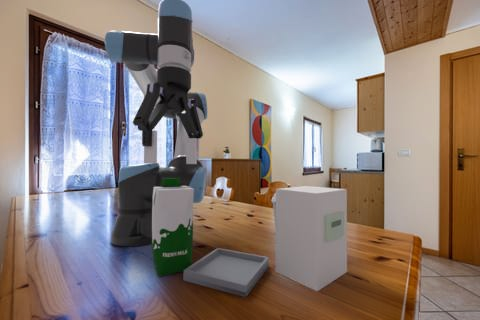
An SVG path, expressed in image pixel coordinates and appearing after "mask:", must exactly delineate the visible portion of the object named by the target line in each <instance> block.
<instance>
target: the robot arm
mask: <svg viewBox="0 0 480 320" xmlns="http://www.w3.org/2000/svg"><path fill="white" fill-rule="evenodd" d="M156 16H157V17H156V18H157V33H146V32H145V33H144V32H135V31H125V30H109V31H107V32H106V34H105V35H104V49H105V51H106V55H107V57H108V59H109V60H111V61H112V62H114V63H119V64H122V63H123V64H124V65H125V66H126V68H127V70H128V72H129V73H130V75H131V76H132V78H133V80H134V81H135V83H136V85H137V86H138V89H139V90H140V91H141V92H142V95H143V100H142V102H141V104H140V106H139V108H138V110H137V112H136V114H135V116H134V118H133V120H132V124H133V125H134V126H135V127H137V130H138V131H141V132H142V133H141V145H142V147H143V163H142V164H133V165H132V164H131V165H126V166H122V167H121V168H120V169H119V172H118V181H117V184H118V185H117V187H118V188H117V190H118V192H117V217H116V220H115V222H114V226H113V230H112V232H111V234H110V243H111V244H112V245H114V246H117V247H137V246H139V247H140V246H145V245H149V244H152V206H153V189H154V187H159V186H162V181H163V178H180V186H188V187H191V188H193V189H194V195H193V204H200V203H201V202H202V201H203V200H204V198H205V195H206V193H205V192H206V187H207V178H208V170H207V168H206V167H204V165H203V163H202V162H201V161H200V160H199V159H200V139H202V137H204V132H203V128H202V123H203V122H204V121H205V120H207V118H208V103H207V101H208V100H207V97H206V95H205V93H202V92H196V91H195V92H190V91H191V89H192V67H193V65H194V63H195V50H194V49H195V48H194V39H193V18H192V16H193V15H192V8H191V7H190V6H189V4H188V3H186V1H184V0H161V1H160V3H159V4H158V11H157V15H156ZM155 65H157V66H156V67H157V69H158V70H156V68H155ZM163 117H164V118H167V119H173V120H174V119H176V120H177V122H178V123H177V124H178V126H177V131H176V132H177V134H176V141H175V148H174V149H175V150H174V156H173V158H172V159H171V160H170V161H169V162H168V167H161V166H160V164H159V163H158V161H157V160H158V130H155V127H156V126H157V125H158V124H159V123H160V121H161V120H162V118H163Z"/></svg>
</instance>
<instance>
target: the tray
mask: <svg viewBox="0 0 480 320" xmlns="http://www.w3.org/2000/svg"><path fill="white" fill-rule="evenodd" d="M269 267H270V257H268V256H264V255H258V254H254V253H247V252H242V251H237V250H232V249H226V248H221V247H216V249H214V250H212V251H211V252H209V253H207V254H206V255H205V256H202V258H200V259H199V260H197V261H196V262H194V263H193V264H192V265H191V266H189V267H188V268H186V269H185V270H184V271H183V279H182V280H183V281H184V282H188V283H191V284H196V285H199V286H203V287H207V288H211V289H215V290H218V291H222V292H224V293H225V292H226V293H229V294H233V295H236V296H240V297H243V298H247V296H248V295H249V294H250V293H251V291H252V290H253V288H254V287H256V284H257V283H258V282H259V280H260V279H261V278H262V276H263V275H264V273H265V272H266V270H267V269H268V268H269Z"/></svg>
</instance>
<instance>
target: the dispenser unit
mask: <svg viewBox="0 0 480 320" xmlns="http://www.w3.org/2000/svg"><path fill="white" fill-rule="evenodd" d="M275 193H276V233H275V273H277V274H280V275H281V276H284V277H286V278H287V279H290V280H291V281H294V282H296V283H298V284H301V285H303V286H304V287H307V288H309V289H311V290H313V291H315V292H319V291H320V290H322V289H324V288H325V287H326V286H328V285H330V284H331V283H333V282H334V281H335V280H337V279H339V278H340V277H341V276H343V275H345V274H346V273H348V214H347V213H348V212H347V211H348V207H347V206H348V203H347V202H348V201H347V200H348V197H347V196H348V189H346V188H334V187H324V186H311V185H303V186H291V187H281V188H280V187H279V188H275Z"/></svg>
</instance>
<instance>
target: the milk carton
mask: <svg viewBox="0 0 480 320" xmlns="http://www.w3.org/2000/svg"><path fill="white" fill-rule="evenodd" d="M193 195H194V189H193V188H191V187H188V186H180V178H163V181H162V186H159V187H154V189H153V206H152V243H151V250H152V251H151V252H152V258H153V263H154V264H153V265H154V267H155V271H156V273H157V275H158V278H160V277H162V276H163V277H164V276H168V275H172V274H177V273H182V272H184V270H185V269H186V268H188V267H189V266H191V265H192V263H193V260H192V259H193V245H194V243H193V241H194V240H193V238H194V203H193Z"/></svg>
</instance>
